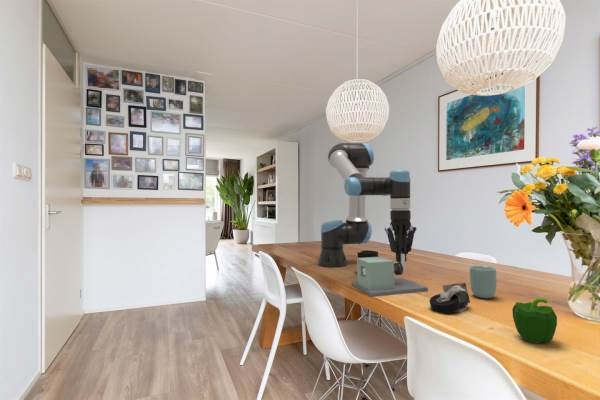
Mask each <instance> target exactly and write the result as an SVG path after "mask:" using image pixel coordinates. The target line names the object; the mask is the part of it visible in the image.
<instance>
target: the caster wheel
mask: <svg viewBox="0 0 600 400" xmlns="http://www.w3.org/2000/svg"><path fill="white" fill-rule="evenodd" d="M442 290H443V291H441V292H439V293H438V294H435V295H433V296H431V297H430V298H429V305H430V308H431V310H432V311H433V312H435V313H438V314H450V313H453V312H455V313H462V312H464V311H465V310H466V309H467V308H468V306H469V305H468V304H470V303H471V299H470V295H469V291H468V288H467V283H466V282H459V283H451V284H442Z"/></svg>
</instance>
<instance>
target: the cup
mask: <svg viewBox="0 0 600 400" xmlns="http://www.w3.org/2000/svg"><path fill="white" fill-rule="evenodd" d="M497 277H498V276H497V268H495V267H493V266H487V265H470V267H469V282H470V283H469V285H470V291H471V292H472V294H473V295H474V296H475V297H476V298H479V299H492V298H494V297H495V296H496V293H497Z"/></svg>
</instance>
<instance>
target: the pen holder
mask: <svg viewBox="0 0 600 400" xmlns="http://www.w3.org/2000/svg"><path fill="white" fill-rule="evenodd" d="M368 257H379V252H378V251H377V250H369V249H368V250H362V251H360V252H359V251H357V258H368Z"/></svg>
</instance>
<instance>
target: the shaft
mask: <svg viewBox="0 0 600 400" xmlns="http://www.w3.org/2000/svg"><path fill="white" fill-rule="evenodd" d="M403 273H404V271H403V266H402V264H401V263H398V262H394V275H396V276H402V275H403ZM362 274H363V276H365V267H363V268H362Z"/></svg>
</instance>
